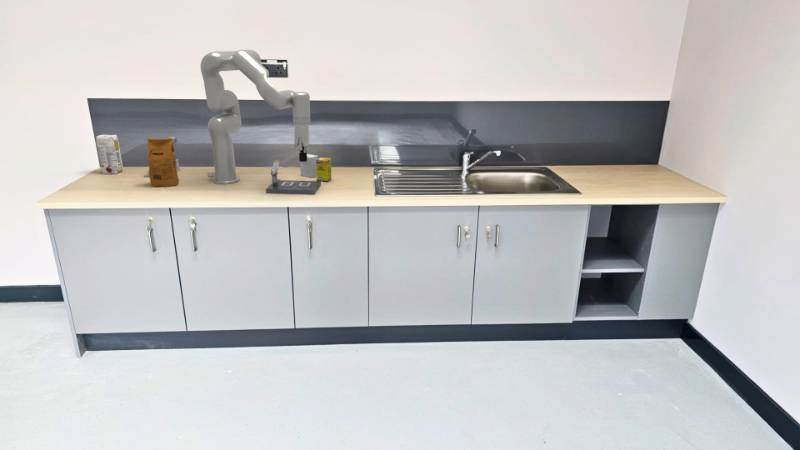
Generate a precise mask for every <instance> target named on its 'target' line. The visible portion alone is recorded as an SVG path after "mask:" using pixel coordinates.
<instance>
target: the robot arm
mask: <svg viewBox="0 0 800 450" xmlns="http://www.w3.org/2000/svg"><path fill="white" fill-rule="evenodd" d="M230 71H231V72H232V71H239V72H241V73H242V75H244V77H246V78H247V79H249V80H250V82H252V83H253V84H254V85H255V88H256V90H257V92H258V93H259V96H260V97H261V98H262V99H263V100H264V102H266V103H267V104H268V105H269V106H271V107H272V108H274V109H276V110H285V109H290V108H292V123H293V125H294V132H293V133H294V136H293V137H294V141H293V142H294V147H295V148H297V147H298V153H299V154H298V156H299V157H298V158H299V159H298V161H299V163H300V162H306V161H307V154H308V153H307V152H308V147H307V146H308V145H309V144H310V129H309V126H310V125H311V101H310V100H311V98H310V97H311V96H310V94H309V93H308V92H306V91H294V90H287V89H286V90H278V89H277V88H276V87H275V86H274V85H272V84H271V83H270V81H269V79H268V78H269V76H270V72H269V70H268V69H267V68H266V67H265V66H264V65H262V58H261V56H260V54H259V53H258V52H257V51H255V50H254V49H239V50H234V51H233V50H230V51H222V50H221V51H211V52H208V53H207V54H205V55H204V56H203V57H202V59H201V62H200V73H201V76H202V77H201V78H202V80H203V85H204V92H205V97H206V98H205V99H206V102H207V103H206V104H207V107H208V109H209V110H210V111H211V112H212V113H222V114H217V115H214V116H213V117H211V118H209V120H208V122H207V129H208V132H209V136H210V139H211V140H210V141H211V148H212V155H213V156H212V157H213V163H214V164H213V167H214V171H213V172H212V171H208V172H206V173H207V177H208V178H212V182H213V183H214V184H219V185H228V184H229V185H230V184H234V183H238V182H240V181H241V179H240V178H241V177H240V176H237V172H236V161H235V158H236V157H235V150H234V148H235V147H234V143H233V139H232V137H231V134H234V133H237V132H239V131H240V130H241V127H242V116H241V109H240V103H239V102H240V101H239V99H238V96H237V95H236V93H235V92H233V91H232V90H229V89H225V83H224V79H223V77H222V76H221V74H220V72H230Z"/></svg>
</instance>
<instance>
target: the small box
mask: <svg viewBox="0 0 800 450" xmlns="http://www.w3.org/2000/svg"><path fill="white" fill-rule="evenodd" d="M317 159H319V155H317V154H316V155H315V154H309V153H307V161H306V162H300V161H299V165H300V166H299V168H300V176H302V177H306V178H312V179H313V178H315V177H316V178H317V174H316V160H317Z"/></svg>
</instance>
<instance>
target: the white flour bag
mask: <svg viewBox="0 0 800 450" xmlns="http://www.w3.org/2000/svg"><path fill="white" fill-rule="evenodd" d="M95 139H96V140H95V141H96V146H97V151H98V152H97V153H98V155H99V156H98V157H99V163H100V167H101V171H102V173H103V174H104V175H118V174H120V173H122V172H123V170H124V166H123V165H124V164H123V159H122V155H121V150H120V149H121V148H120V143H119V138H118V136H117V134H100V135H97V136H95Z"/></svg>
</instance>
